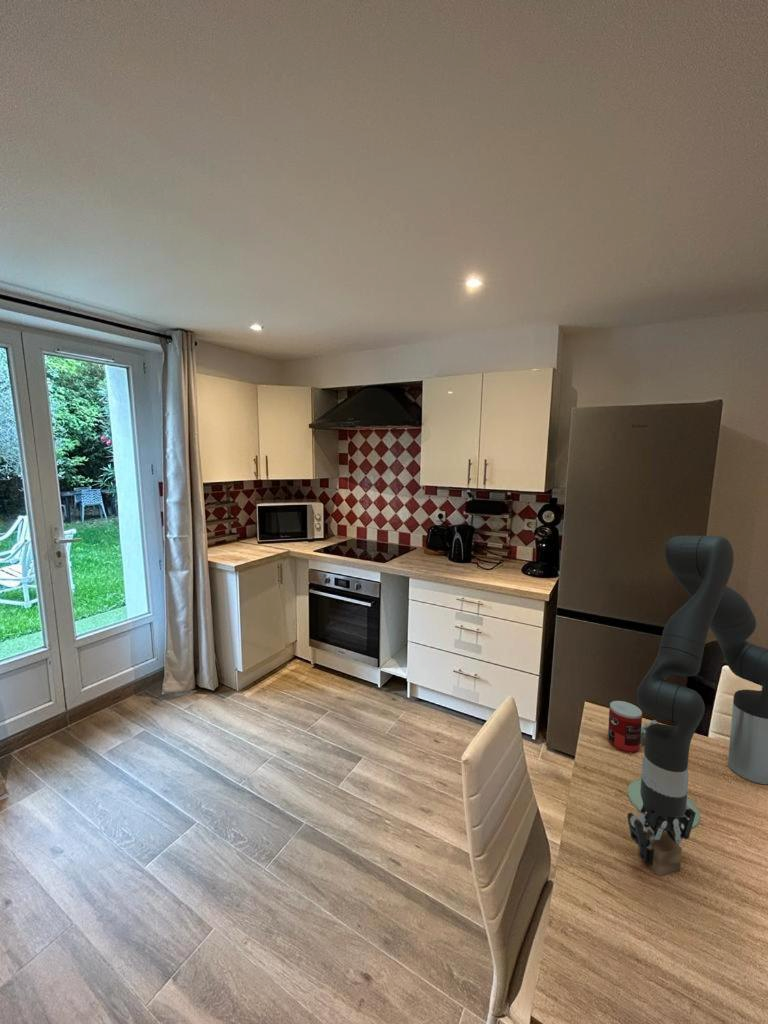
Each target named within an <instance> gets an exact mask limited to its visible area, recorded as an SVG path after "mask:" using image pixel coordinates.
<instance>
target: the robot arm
mask: <svg viewBox="0 0 768 1024" xmlns="http://www.w3.org/2000/svg"><path fill="white" fill-rule="evenodd" d="M664 557H665V561H666V562H665V563H666V565H667V567H668V568H669V570H670V572H671V574H672V575H673V577H675V580H677V581H678V582H679V584H680V585H681V586H682V588H684V590H685V591H686V592H687V593H688V595H689V596H690V599H688V601H686V602H685V604H684V605H682V606H681V607H680V608H678V610H677V611H676V612H674V614H672V615H671V616H670V618H669V619H668V620H667V622H666V623H665V626H664V628H663V630H662V635H661V639H660V641H659V647H658V651H657V655H656V657H655V659H654V661H653V663H652V665H651V667H650V669H649V670H648V672H647V673H646V674H645V676H644V677H643V679H642V680H641V682H640V684H639V685H638V687H637V690H636V701H637V704H638V706H639V709H640V710H641V711H642V712H645V713H647V714H649V715H651V716H654V717H657V718H660V719H662V720H665V721H667V722H669V723H673V724H675V725H669V724H664V723H663V724H662V723H659V724H652V725H650V726H648V728H647V730H646V736H645V745H644V752H643V753H644V754H643V759H642V764H641V774H640V775H641V777H640V779H641V790H640V794H641V798H642V801H643V806H642V808H641V811H639V813H637V814H635V815H634V814H633V812H629V813H627V816H626V817H627V822H628V828H629V832H630V837H631V839H632V840H633V842H635V843H636V844H637V846H638V845H639V847H640V855H639V857H640V858H641V859H642V861H643V862H645V864H646V865H647V866H648V867H650V866H651V865H653V852H654V850H653V847H654V845H655V842H656V840H657V841H659V840H660V837H661V835H662V832H664V831H665V832H666V833H667V834H668V835H669V836H670V837H671V838H672V839H673V840H674V841H675V842H676V843H677V844H678V845H679V846H680V844H681V843H682V840H683V839H684V840H685V841H686V840H688V839H689V838H690V836H691V835H690V834H691V832H692V829H693V828H692V825H693V822H694V818H695V815H696V813H695V812H694V811H693V810H692V809H691V808H690V807H688V806H687V805H686V804H687V797H688V789H689V788H688V787H689V769H688V768H689V767H688V766H689V757H690V755H689V754H690V747H691V742H692V740H693V736H694V735H695V732H696V730H697V728H698V727H699V725H700V723H701V721H702V719H703V718H704V715H705V712H706V711H705V710H706V708H705V703H704V702H705V701H704V699H703V697H702V696H701V694H699V693H698V692H697V691H696V690H695V689H692V688H689V687H687V686H683V685H681V684H678V683H673V682H671V681H667V680H666V679H668V678H670V677H671V676H682V677H683V676H684V677H695V676H697V675H698V674H699V673H700V670H701V666H702V661H703V657H704V651H705V648H706V647H705V646H706V641H707V638H708V633H709V630H711V632H712V633H713V635H714V637H715V639H716V641H717V643H718V645H719V647H720V649H721V652H722V654H723V656H724V659H725V661H726V664H727V666H728V668H729V670H730V671H731V672H732V674H734V675H735V676H736V677H738V678H741V679H743V680H746V681H748V682H751V683H753V684H756V685H758V686H761V690H756V689H739V690H736V691H735V692H734V694H733V701H732V710H731V711H732V714H731V725H730V735H729V749H728V757H727V765H728V767H729V768H730V770H731V771H733V773H735V774H736V775H738V776H740V777H741V778H743V779H745V780H748V781H750V782H753V783H756V784H761V785H768V648H767V647H766V648H765V647H762V646H761V645H760V646H759V645H756V644H753V643H750V642H749V641H748V639H749V638H750V637H751V636H752V635H753V634H754V632H755V630H756V628H757V620H756V617H755V613H754V612H753V610H752V609H751V607H750V604H749V603H748V601H747V600H746V599H745V598H744V596H742V595H741V594H740V593H738V592H737V591H736V590H734V589H733V588H731V587H730V586H728V585H727V584H728V582H729V579H730V577H731V574H732V570H733V566H734V549H733V546H732V543H731V542H730V541H729V540H728V539H727V538H726V537H724V536H719V535H678V536H673V537H671V538H669V540H668V541H667V542H666V544H665V545H664ZM682 824H683V825H684V830H683V829H682V828H681V825H682ZM651 828H652V829H653V830H654V831H655V832H653V831H652V830H651ZM647 834H648V835H649V840H648V839H647V838H646V836H647Z"/></svg>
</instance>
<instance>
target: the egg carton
mask: <svg viewBox="0 0 768 1024" xmlns="http://www.w3.org/2000/svg"><path fill="white" fill-rule="evenodd" d="M652 724H660V722H658V721H657V720H656V719H652V720H651V721H650V722H648V723H645V724H644V725H641V739H640V744H642V745H643V746H645V736H646V730H647V728H648V726H650V725H652ZM642 745H641V746H642Z"/></svg>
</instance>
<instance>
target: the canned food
mask: <svg viewBox="0 0 768 1024" xmlns="http://www.w3.org/2000/svg"><path fill="white" fill-rule="evenodd" d="M642 721H643V710H642V709H641V708H640V707H638V706H637V705H634V704H632V703H630V702H628V701H624V700H613V701H611V702H610V703H609V710H608V729H607V731H608V732H607V738H608V742H609V744H610V743H611V744H610V746H612V747H613V748H615V749H616V750H618V751H620V752H623V753H626V752H627V754H634V753H638V752H639V751H640V747H641V745H640V739H641V726H642V725H643V724H642V723H643V722H642Z"/></svg>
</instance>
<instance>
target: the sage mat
mask: <svg viewBox="0 0 768 1024" xmlns="http://www.w3.org/2000/svg"><path fill="white" fill-rule="evenodd" d="M627 788H628V789H627V795H628V798H629V801H630V802H631V804H632V805H633V807H634V808H635V809H636V810H637V811H638V812H640V811H641V808H642V806H643V801H642V798H641V794H640V790H641V778H640V779H635V780H634V781H632V782H630V783H629V786H628V787H627ZM686 805H687V806H688V807H690V808H691V809H692V810H693V811H694V812H695V813H696V815H695V818H694V822H693V825H692V829H694V828H696V827H697V826H698V825H699V823H700V819H701V814H700V811H699V808H698V807H697V805H696V804H695V802H694V801H693V800H692V799H690V797H689V796H687V804H686ZM681 828H682V829H683V830H684V825H683V824H682V825H681Z"/></svg>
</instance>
